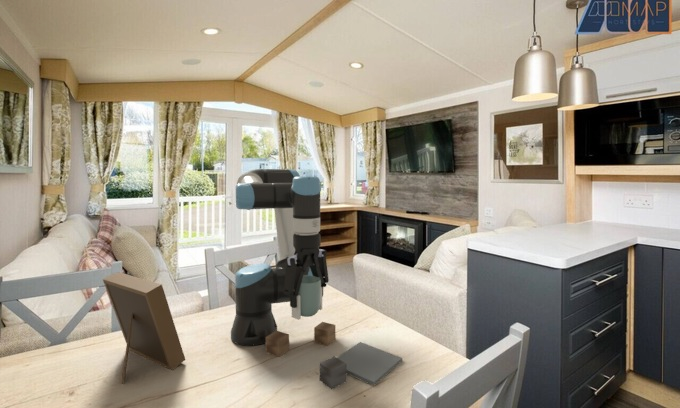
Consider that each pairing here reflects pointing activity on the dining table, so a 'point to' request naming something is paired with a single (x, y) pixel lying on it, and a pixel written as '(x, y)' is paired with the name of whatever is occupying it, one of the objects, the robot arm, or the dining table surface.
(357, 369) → the slate board
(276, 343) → the walnut block near
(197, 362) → the dining table surface
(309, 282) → the cup
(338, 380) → the charcoal block front
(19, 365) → the dining table surface
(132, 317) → the photo frame
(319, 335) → the walnut block left
